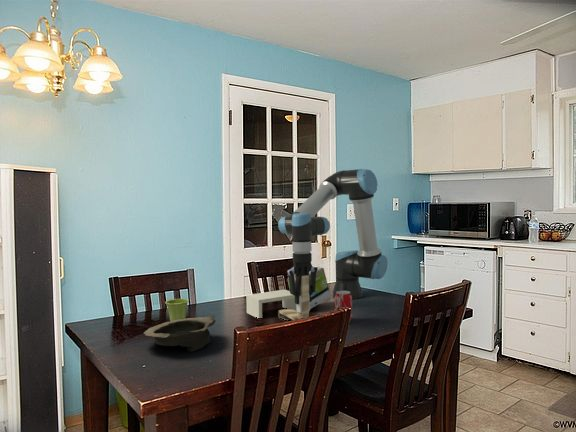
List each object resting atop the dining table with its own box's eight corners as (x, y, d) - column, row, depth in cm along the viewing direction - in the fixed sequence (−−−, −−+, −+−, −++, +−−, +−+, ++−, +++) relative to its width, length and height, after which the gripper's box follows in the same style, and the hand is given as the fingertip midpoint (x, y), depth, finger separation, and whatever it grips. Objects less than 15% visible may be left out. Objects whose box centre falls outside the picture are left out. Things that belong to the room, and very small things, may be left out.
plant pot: (161, 323, 182) (160, 303, 182) (174, 317, 191) (174, 298, 191) (180, 325, 179) (180, 304, 179) (193, 319, 188) (192, 299, 188)
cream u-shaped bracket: (285, 306, 207) (284, 289, 207) (299, 311, 197) (298, 294, 197) (246, 312, 197) (246, 295, 197) (259, 318, 187) (258, 300, 186)
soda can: (351, 323, 177) (351, 294, 176) (334, 323, 178) (333, 293, 178) (352, 319, 184) (352, 290, 183) (335, 318, 185) (335, 290, 185)
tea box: (309, 311, 195) (300, 280, 192) (294, 308, 202) (285, 278, 200) (331, 296, 204) (323, 266, 201) (316, 293, 212) (308, 265, 209)
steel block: (290, 317, 190) (290, 314, 190) (297, 320, 186) (297, 317, 185) (279, 319, 187) (279, 316, 187) (285, 322, 183) (285, 319, 183)
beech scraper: (311, 324, 176) (312, 275, 174) (299, 327, 173) (299, 276, 171) (290, 314, 190) (290, 268, 188) (278, 316, 187) (278, 269, 185)
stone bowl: (223, 351, 147) (220, 324, 147) (144, 366, 140) (141, 338, 140) (213, 329, 171) (211, 306, 170) (146, 341, 164) (143, 317, 163)
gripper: (313, 249, 182) (314, 306, 183) (279, 253, 174) (280, 312, 175) (324, 251, 175) (325, 310, 176) (289, 254, 167) (290, 316, 168)
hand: (303, 311), depth 175 cm, fingers closed on beech scraper, 3 cm apart
